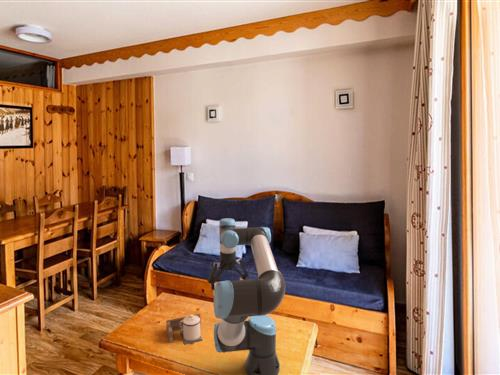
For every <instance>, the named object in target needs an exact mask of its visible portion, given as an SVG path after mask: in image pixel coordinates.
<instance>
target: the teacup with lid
mask: <svg viewBox="0 0 500 375" xmlns="http://www.w3.org/2000/svg"><path fill="white" fill-rule="evenodd" d="M195 315H196V314H189V315H187V317H186V316H184V317H185V318H184V319H183V320H182V321H180V327H181V329H182V330H183V336H184V339H185V340H188V341H194V340H197V339H198V338H199V337H200V336H201V325H200V321H201V317H200V318H199V317H198V316H195ZM182 322H183V326H182Z"/></svg>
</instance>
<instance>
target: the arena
mask: <svg viewBox="0 0 500 375" xmlns="http://www.w3.org/2000/svg"><path fill="white" fill-rule="evenodd" d="M194 315H195V316H198V317H199V318H200V319H201V313H197V314H194ZM187 316H188V315H187ZM187 316H182V317H178V318H172V319H168V320H165V321H166V323H165V324H166V326H165V327H166V333H167V338H168V341H169V344H171V343H173V342H174V339H173V338H174V335H173V332H176V331H179V332H180V335H181V336H180V337H181V338H182V341H183V344H184V345H185V346H186V345H189V344H193V343H197V342H202V341H203V338H202V337H201V335H200V337H199V338H198V339H197V340H194V341H188V340H185V339H184V336H183V330H182V329H181V327H180V321H182V320H183V319H184V318H185V317H187ZM201 324H202V322H201V321H200V326H201ZM182 326H183V322H182Z"/></svg>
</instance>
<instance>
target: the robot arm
mask: <svg viewBox="0 0 500 375" xmlns="http://www.w3.org/2000/svg"><path fill="white" fill-rule="evenodd" d="M218 227H219V262H217V261H214V262H213V264H212V268H211V270H210V273H209V275H208V277H207V280H206V281H207V283H208V284H210V287H211V288H210V289H211V291H213V293H212V296H213V313H214V317H215V318H216V319H219V320H220V319H221V321H218V322H216V323H215V324H214V327H213V342H214V348H215V351H216V352H217V353H224V354H225V353H232V352H240V351H241V352H243V351H248V353H247V354H248V355H247V357H246V361H245V365H244V366H245V367H244V368H245V372H246V374H247V375H278V374H279V373H280V369H281V366H280V365H281V364H280V360H279V358H278V354H277V351H276V350H277V348H276V346H277V343H276V342H277V340H276V339H277V328H276V325H277V324H276V322H275V320H274V319H273V318H272V317H270V316H268V315H270V314H271V313H273V312H275V310H276V309H278V307H279V306H280V305H281V304H282V303H283V300H284V297H285V293H286V280H285V278H284V274H282V273H281V271H280V270H278V267H277V263H276V261H275V258H274V257H275V256H274V254H273V252H272V250H271V246H270V243H272V242H271V241H272V234H271V229H270V228H269V227H264V226H259V227H240V228H239V227H236V221H235V219H234V218H226V217H225V218H221V219H219V224H218ZM236 246H250V247H251V252H252V256H253V261H254V264H255V268H256V271H257V276H258V277H257V278H251V279H250V278H249V279H247V278H248V277H249V272H248V271H247V270H246V267H245V266H244V264H243V260H242V259H241V258H240V257H239V258H238V259H236V258H237V252H236V249H237V248H236ZM237 264H239V267H240V268H241V270H242V272H243V273H242V272H241V271H240V269H239V268H237V267H236V266H237ZM217 269H218V270H217ZM232 270H234V271H235V272H236V273H237V274H238V275H239V276H240V277H239V279H238V280H237V279H235V280H230V279H229V280H228V279H225V280H220V281H218V279H219V278H220V277H221V275H222V273H224V272H228V271H232ZM216 282H217V283H216ZM247 319H248V320H247Z"/></svg>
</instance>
